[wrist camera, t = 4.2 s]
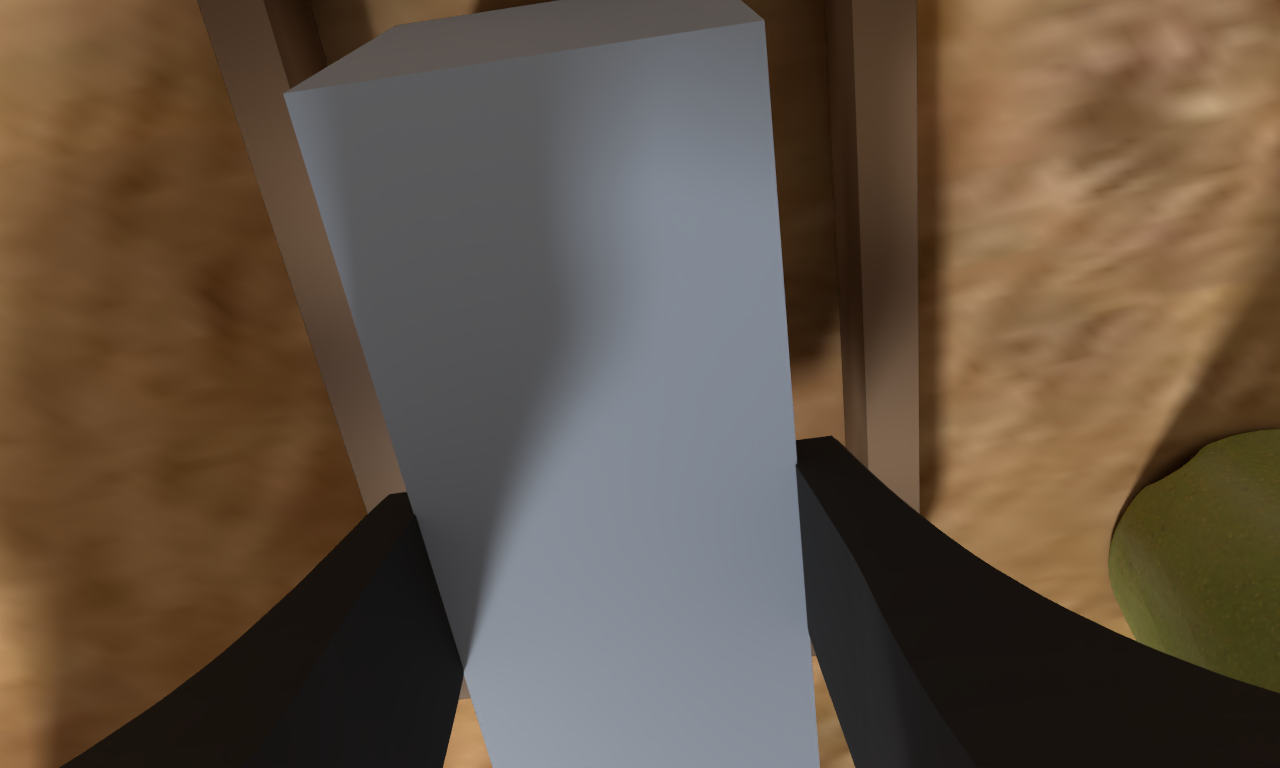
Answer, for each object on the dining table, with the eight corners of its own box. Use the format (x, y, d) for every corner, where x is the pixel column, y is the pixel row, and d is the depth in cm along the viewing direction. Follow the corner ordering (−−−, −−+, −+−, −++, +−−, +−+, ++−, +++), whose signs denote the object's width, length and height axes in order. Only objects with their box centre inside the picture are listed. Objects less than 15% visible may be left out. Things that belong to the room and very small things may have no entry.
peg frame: (893, 578, 23) (920, 642, 21) (446, 634, 23) (430, 702, 21) (877, -190, 15) (915, -204, 13) (224, -85, 16) (169, -84, 14)
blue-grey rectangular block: (776, 629, 18) (826, 861, 14) (552, 657, 19) (532, 895, 14) (713, -25, 13) (764, 19, 8) (395, 25, 13) (282, 92, 9)
